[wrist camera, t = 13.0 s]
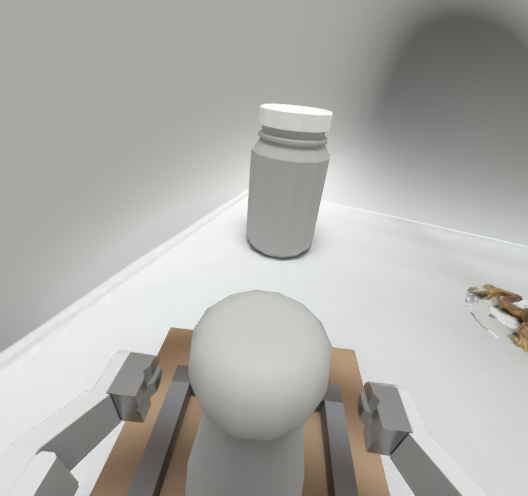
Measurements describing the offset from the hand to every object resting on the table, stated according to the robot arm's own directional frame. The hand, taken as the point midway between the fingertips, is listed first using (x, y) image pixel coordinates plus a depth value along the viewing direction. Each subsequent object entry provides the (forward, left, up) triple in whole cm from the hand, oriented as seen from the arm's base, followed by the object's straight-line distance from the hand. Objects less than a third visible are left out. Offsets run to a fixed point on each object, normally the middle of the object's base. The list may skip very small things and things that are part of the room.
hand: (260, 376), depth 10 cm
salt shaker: (-1, 0, -9) cm, 9 cm away
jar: (+28, -1, -11) cm, 30 cm away
